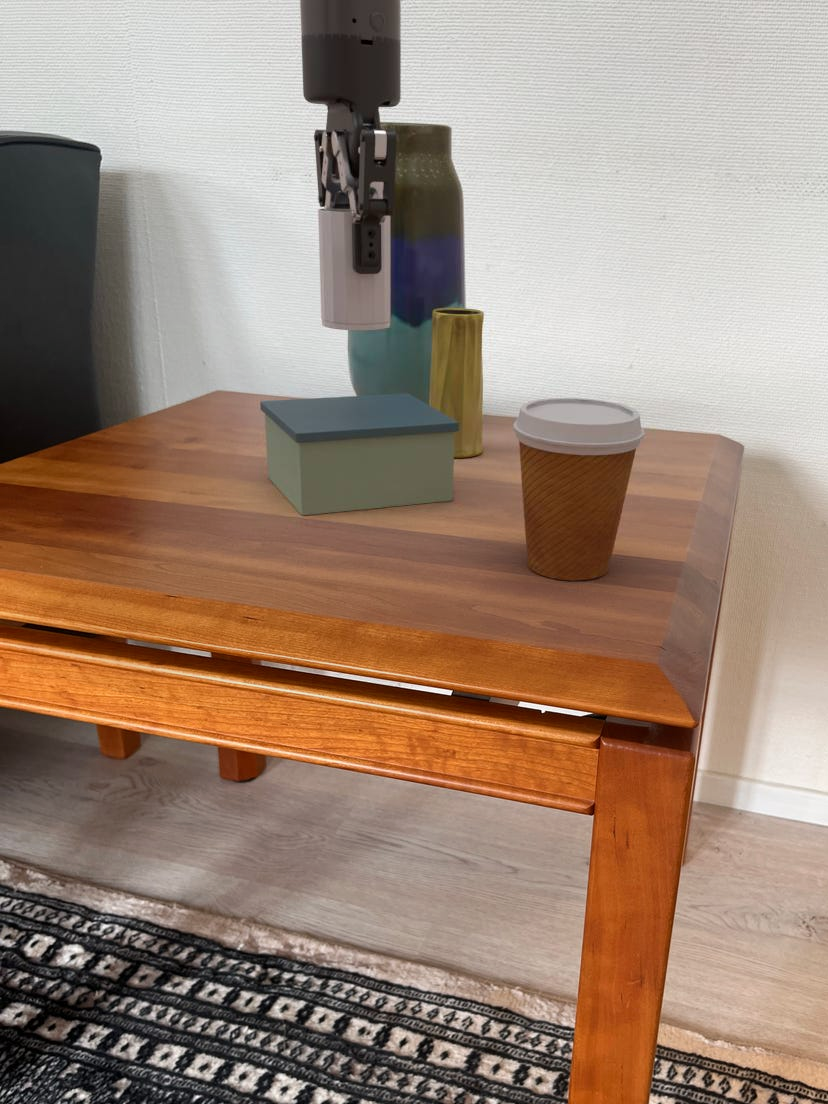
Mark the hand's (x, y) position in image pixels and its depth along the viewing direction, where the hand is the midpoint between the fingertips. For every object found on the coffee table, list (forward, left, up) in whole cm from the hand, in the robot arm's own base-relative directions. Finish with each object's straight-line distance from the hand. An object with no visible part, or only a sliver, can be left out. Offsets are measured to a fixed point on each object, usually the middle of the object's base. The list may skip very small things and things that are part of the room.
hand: (355, 268), depth 85 cm
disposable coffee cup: (+10, -22, -20) cm, 31 cm away
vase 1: (+16, +29, -20) cm, 38 cm away
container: (+1, +2, -20) cm, 20 cm away
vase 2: (+15, +12, -20) cm, 27 cm away
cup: (0, 0, -5) cm, 5 cm away
